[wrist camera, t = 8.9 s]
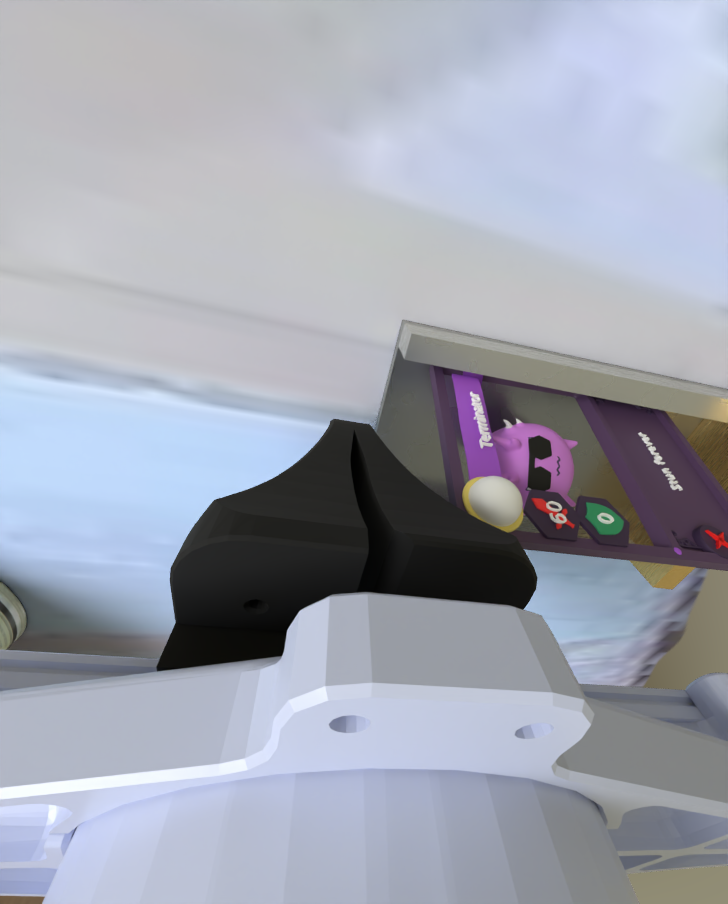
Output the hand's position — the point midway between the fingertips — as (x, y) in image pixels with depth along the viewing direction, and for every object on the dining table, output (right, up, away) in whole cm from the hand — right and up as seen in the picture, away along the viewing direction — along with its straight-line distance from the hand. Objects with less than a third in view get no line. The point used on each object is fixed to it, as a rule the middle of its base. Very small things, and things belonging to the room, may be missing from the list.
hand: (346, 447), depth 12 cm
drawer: (+8, 0, +3) cm, 9 cm away
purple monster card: (+7, +1, +2) cm, 7 cm away
